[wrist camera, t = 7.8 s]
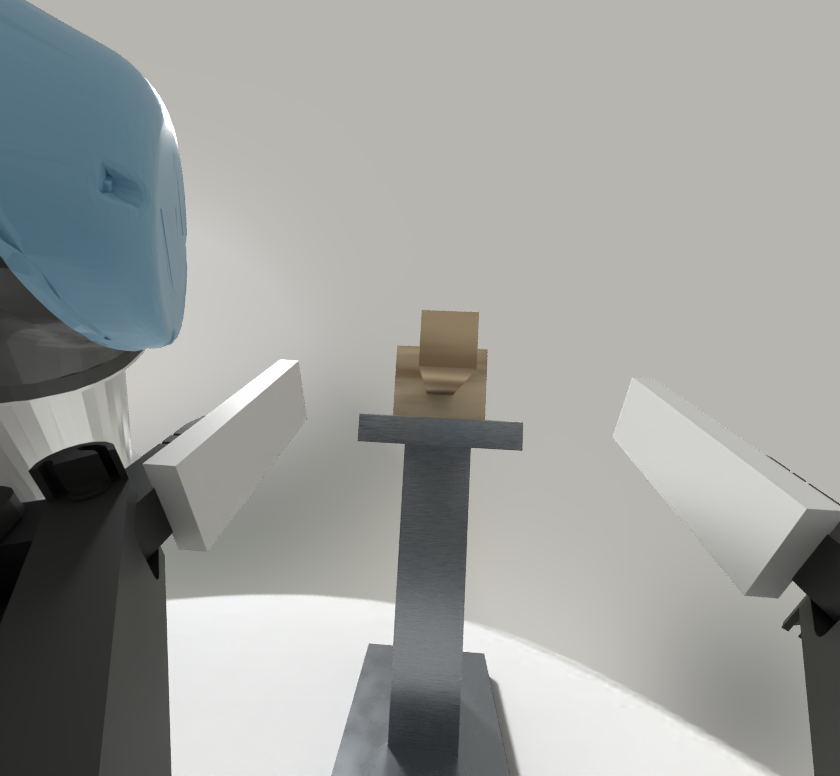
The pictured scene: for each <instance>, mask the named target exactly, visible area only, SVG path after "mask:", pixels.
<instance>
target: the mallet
mask: <svg viewBox="0 0 840 776" xmlns="http://www.w3.org/2000/svg"><path fill="white" fill-rule="evenodd" d="M478 320H479V313H478V312H453V311H430V310H422V317H421V335H420V347H418V346H397V360H396V376H395V394H394V409H393V415H396V416H415V417H433V418H451V419H470V420H485V403H486V377H487V350H486V349H485V350H484V349H477V344H478Z"/></svg>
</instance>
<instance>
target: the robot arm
mask: <svg viewBox="0 0 840 776" xmlns="http://www.w3.org/2000/svg"><path fill="white" fill-rule="evenodd" d="M186 235H187V229H186V209H185V195H184V184H183V175H182V168H181V161H180V154H179V149H178V144H177V140H176V135H175V132H174V128H173V126H172V123H171V120H170V117H169V114H168V112H167V110H166V108H165V106H164V104H163V102H162V100H161V98H160V97H159V95H158V94H157V92H156V91H155V89H154V88H153V87H152V85H151V84H150V83H149V82H148V80H147V79H146V78H145V77H144V76H143V75H142V74H141V73H140V72H139V71H138V70H137V69H136V68H135V67H134V66H133V65H132V64H131V63H130V62H128V61H127V60H126V59H125V58H123V57H122V56H121V55H119V54H118V53H116V52H115V51H113V50H111V49H110V48H108V47H106V46H104V45H103V44H101V43H99V42H98V41H96V40H94V39H92V38H90V37H88V36H87V35H85V34H83V33H81V32H80V31H78V30H76V29H74V28H72V27H71V26H69V25H67V24H65V23H64V22H62V21H60V20H58V19H57V18H55V17H53V16H51V15H50V14H48V13H46V12H45V11H43V10H41V9H39V8H38V7H36V6H34V5H33V4H31V3H29V2H27V1H26V0H0V776H171V748H170V716H169V683H168V651H167V618H166V586H165V555H164V553H163V551H162V548H161V545H162V544H163V542H164V541H165V540H166V539H167V538H168V537H169V536H170V535H171V534H173V537H174V539H175V541H176V543H177V546H178V549H179V550H189V551H202V552H208V551H209V549H210V548H211V547H212V545H213V544H214V543H215V541H216V540H217V539H218V537H219V536H220V535H221V533H222V532H223V531H224V529H225V528H226V527H227V525H228V524H229V523H230V521H231V520H232V519H233V517H234V516H235V515H236V513H237V512H238V511H239V509H240V508H241V507H242V505H243V504H244V503H245V501H246V500H247V499H248V497H249V496H250V495H251V493H252V492H253V491H254V489H255V488H256V487H257V485H258V484H259V482H260V481H261V480H262V479H263V477H264V476H265V474H266V473H267V472H268V471H269V469H270V468H271V466H272V465H273V464H274V462H275V461H276V460H277V459H278V457H279V456H280V455H281V453H282V452H283V451H284V449H285V448H286V447H287V445H288V444H289V442H290V441H291V440H292V439H293V437H294V436H295V434H296V433H297V432H298V431H299V429H300V428H301V427H302V425H303V424H304V423H305V421H306V420H307V417H306V409H305V402H304V396H303V389H302V382H301V375H300V369H299V361H296V360H295V361H294V360H279V361H278V362H276V363H275V364H274V365H272V366H271V367H270V368H269V369H267V370H266V371H264V372H263V373H262V374H260V375H259V376H258V377H257V378H255V379H254V380H253V381H251V382H250V383H249V384H247V385H246V386H245V387H243V388H242V389H241V390H239V391H238V392H237V393H235V394H234V395H233V396H231V397H230V398H229V399H227V400H226V401H225V402H223V403H222V404H221V405H219V406H218V407H217V408H216V409H214V410H213V411H212V412H210V413H209V414H208V415H206V416H202V417H201V418H198V419H196V420H194V421H191V422H189V423H187V424H186V425H184V426H183V427H182V428H180V429H179V430H177V431H176V432H175V433H174V435H171V436H169V437H168V438H166V439H165V440H164V441H163V442H162V444H158V445H157V446H156V447H154V448H153V449H151V450H150V451H149V452H147V453H146V454H145V455H143V456H142V457H141V456H140V455H139V454H138V453H136V452H135V451H133V450H132V449H131V437H130V425H129V413H128V399H127V387H126V374H125V370H126V369H127V368H128V367H129V366H131V365H132V364H133V363H134V362H135V361H136V360H137V359H138V358H139V357H140V356H141V355H142V354H143V353H144V351H145V349H146V348H161V347H164V346H166V345H169V344H172V343H173V342H174V340H175V339H176V338H177V337H178V334H179V331H180V329H181V324H182V320H183V315H184V307H185V295H186V281H187V280H186V278H187V262H186V246H185V243H186ZM613 438H614V440H615V441H616V442H617V443H618V444H619V445H620V447H621V448H622V449H623V450H624V452H625V453H626V454H627V455H628V456H629V458H630V459H631V460H632V461H633V462H634V464H635V465H636V466H637V467H638V469H639V470H640V471H641V472H642V473H643V475H644V476H645V477H646V478H647V479H648V481H649V482H650V483H651V484H652V485H653V487H654V488H655V489H656V490H657V491H658V493H659V494H660V495H661V496H662V497H663V498H664V500H665V501H666V502H667V503H668V505H669V506H670V507H671V508H672V509H673V511H674V512H675V513H676V514H677V515H678V516H679V518H680V519H681V520H682V521H683V523H684V524H685V525H686V526H687V528H688V529H689V530H690V531H691V532H692V533H693V535H694V536H695V537H696V538H697V539H698V541H699V542H700V543H701V544H702V546H703V547H704V548H705V549H706V550H707V552H708V553H709V554H710V555H711V556H712V558H713V559H714V560H715V561H716V562H717V563H718V565H719V566H720V567H721V568H722V570H723V571H724V572H725V573H726V574H727V576H728V577H729V578H730V579H731V580H732V582H733V583H734V584H735V585H736V586H737V588H738V589H739V590H740V591H741V593H742V594H743V595H744V596H757V597H769V598H779V597H780V596H781V594H782V593H783V592H784V591H785V589H786V588H787V587H788V585H789V584H790V583H791V582H792V581H794V582H795V583H796V584H797V585H798V586H799V587H800V588H801V589H802V590H803V591H804V592H805V593H806V594H807V595H806V596H805V597H804V599H803V600H802V601H801V602H800V603H799V605H798V606H797V607H796V608H795V609H794V610H793V611H792V613H791V614H790V615H789V616H788V617H787V618H786V620H785V621H784V623H783V625H782V628H783V629H785V630H787V631H789V630H790V629H791V628H792V627H793V625H801V634H800V635H799V637H800V638H801V639H802V647H803V658H804V668H805V679H806V690H807V701H808V711H809V722H810V732H811V743H812V753H813V764H814V775H815V776H840V504H839V503H837V502H836V501H834V500H833V499H832V498H830V497H829V496H827V495H826V494H824V493H823V492H821V491H820V490H818V489H817V488H815V487H814V486H812V485H811V484H807V483H806V481H805V480H804V479H802V478H801V477H799V476H798V475H796V474H795V473H791V472H790V470H789V469H787V468H786V467H785V466H783V465H781V464H780V463H778V462H777V461H776V460H774V459H773V458H771V457H769V456H767V455H765V454H763V453H762V452H760V451H759V450H757V449H756V448H754V447H753V446H752V445H750V444H749V443H747V442H746V441H744V440H743V439H741V438H740V437H738V436H737V435H736V434H734V433H733V432H731V431H730V430H728V429H727V428H725V427H724V426H722V425H721V424H719V423H718V422H717V421H715V420H713V419H712V418H711V417H709V416H708V415H706V414H705V413H703V412H702V411H701V410H699V409H698V408H696V407H695V406H693V405H691V404H690V403H689V402H687V401H686V400H685V399H683V398H681V397H680V396H679V395H677V394H676V393H674V392H673V391H671V390H670V389H668V388H667V387H666V386H664V385H663V384H661V383H660V382H658V381H657V380H655V379H654V378H643V377H632V380H631V383H630V386H629V389H628V392H627V395H626V398H625V401H624V404H623V407H622V410H621V413H620V416H619V419H618V422H617V425H616V428H615V431H614V434H613Z"/></svg>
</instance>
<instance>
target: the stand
mask: <svg viewBox="0 0 840 776" xmlns="http://www.w3.org/2000/svg"><path fill="white" fill-rule="evenodd" d="M358 441H366V442H383V443H400V444H405V452H404V470H403V486H402V504H401V522H400V539H399V556H398V573H397V590H396V607H395V625H394V642H393V646H391V645H380V644H369V645H368V649H367V652H366V656H365V659H364V663H363V666H362V670H361V673H360V677H359V680H358V684H357V687H356V691H355V694H354V698H353V701H352V705H351V708H350V712H349V716H348V719H347V723H346V726H345V730H344V733H343V737H342V740H341V744H340V747H339V751H338V754H337V758H336V761H335V765H334V768H333V772H332V775H331V776H510V773H509V769H508V764H507V759H506V755H505V750H504V745H503V740H502V736H501V731H500V726H499V722H498V717H497V712H496V707H495V703H494V698H493V693H492V689H491V684H490V679H489V674H488V670H487V665H486V660H485V656H484V654H482V653H470V652H462V650H463V625H464V600H465V575H466V574H465V573H466V550H467V526H468V501H469V477H470V452H471V448H485V449H502V450H520V451H522V442H523V423H519V422H518V423H517V422H505V421H490V420H470V419H451V418H433V417H415V416H396V415H378V414H360V416H359V429H358Z"/></svg>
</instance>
